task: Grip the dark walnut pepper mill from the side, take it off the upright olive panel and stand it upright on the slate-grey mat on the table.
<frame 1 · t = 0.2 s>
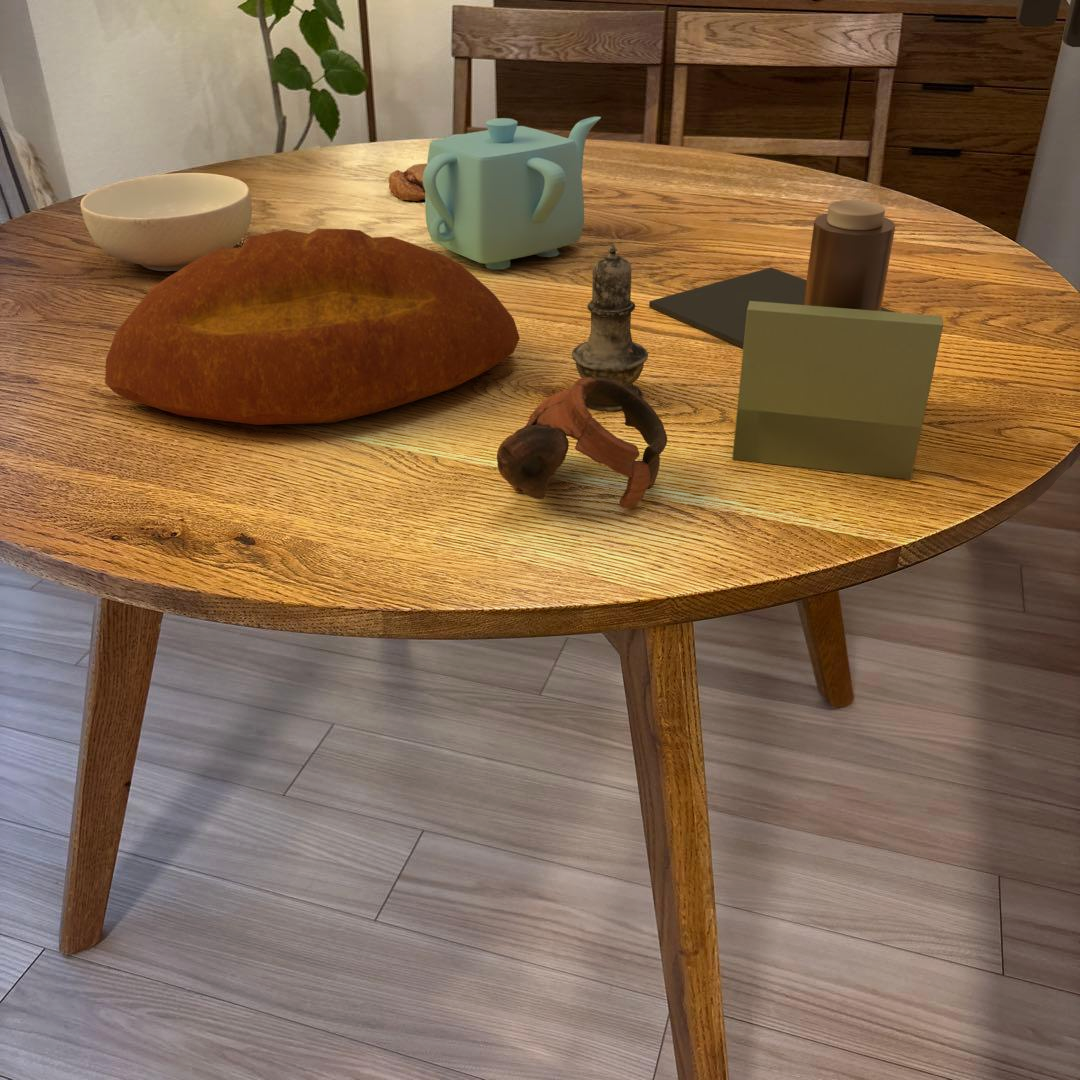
hand: (1057, 35, 61), 26 cm above the table, tool pointing down, fingers open, 8 cm apart
pepper mill: (831, 375, 75), point 4 cm above the table, touching upright olive panel
slate mat: (771, 313, 96), on the table
bread: (323, 384, 85), on the table
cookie: (430, 193, 133), on the table
teapot: (518, 250, 113), on the table
upright olive panel: (823, 430, 76), on the table
brown leather headphones: (571, 492, 70), on the table
salt shaker: (608, 398, 82), on the table
cereal bowl: (179, 261, 111), on the table
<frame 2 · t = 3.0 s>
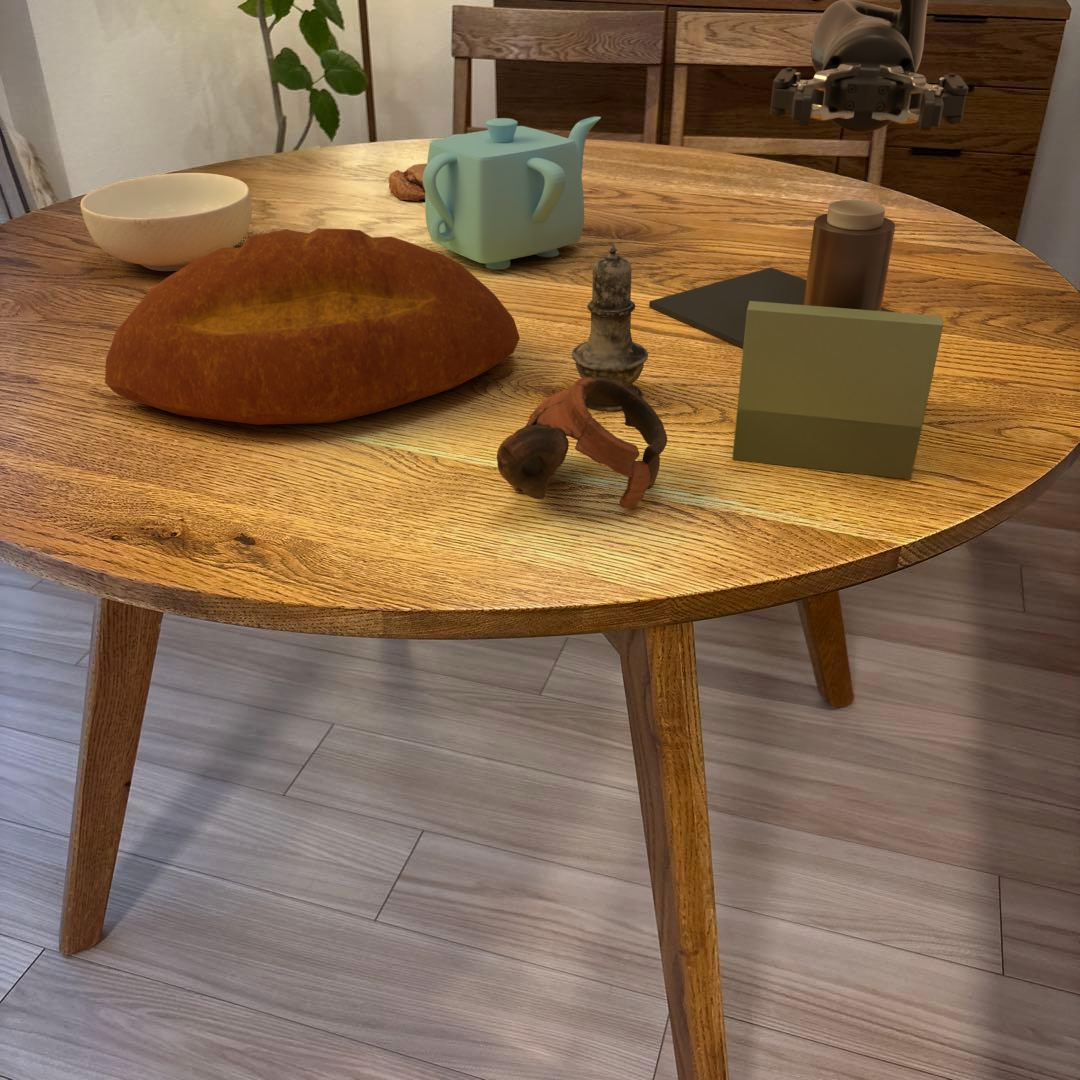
hand: (866, 114, 75), 20 cm above the table, tool horizontal, fingers open, 8 cm apart
nothing on the table moved.
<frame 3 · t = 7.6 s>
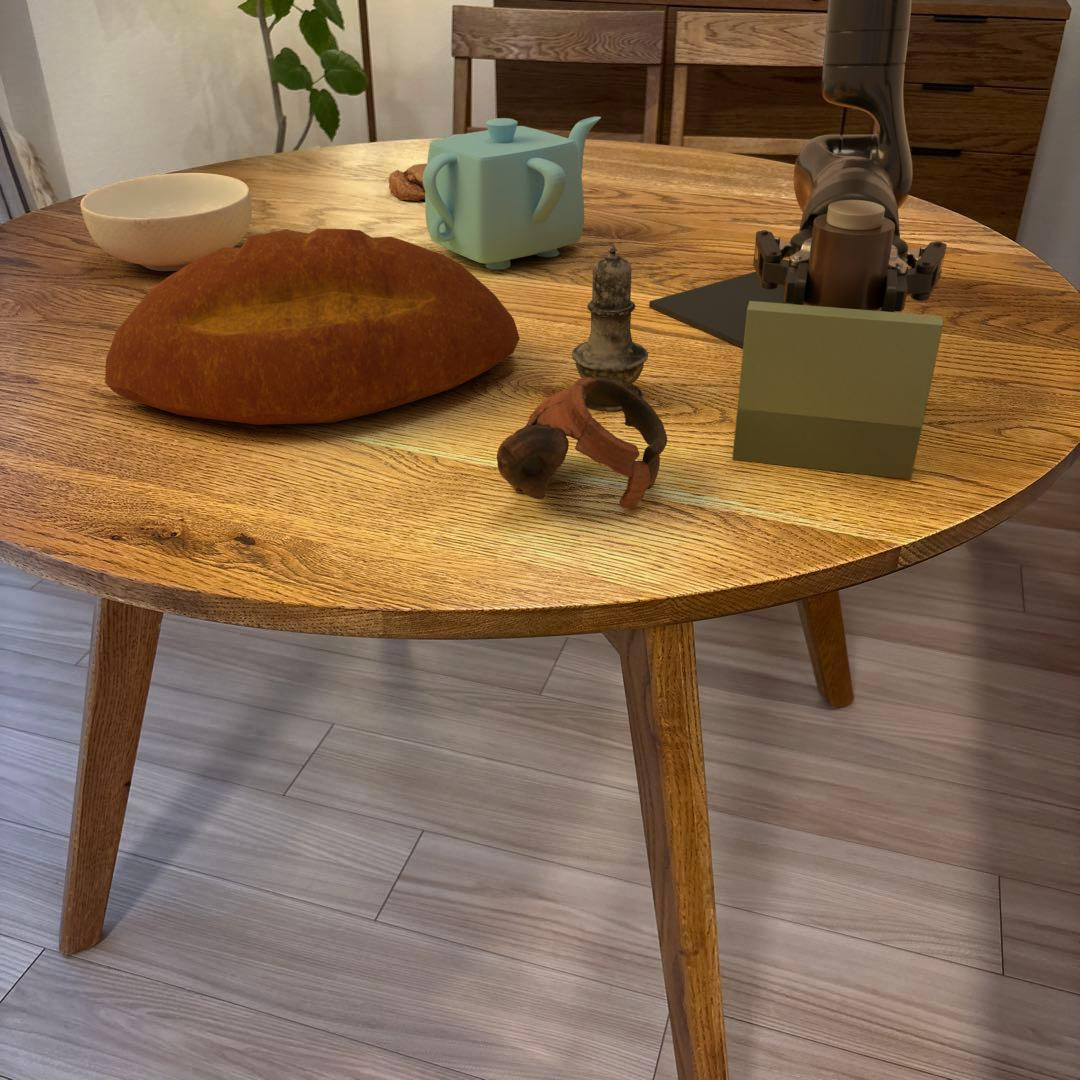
hand: (844, 299, 69), 11 cm above the table, tool horizontal, fingers closed on pepper mill, 5 cm apart
pepper mill: (831, 375, 75), point 4 cm above the table, touching gripper, upright olive panel
everything else where it was.
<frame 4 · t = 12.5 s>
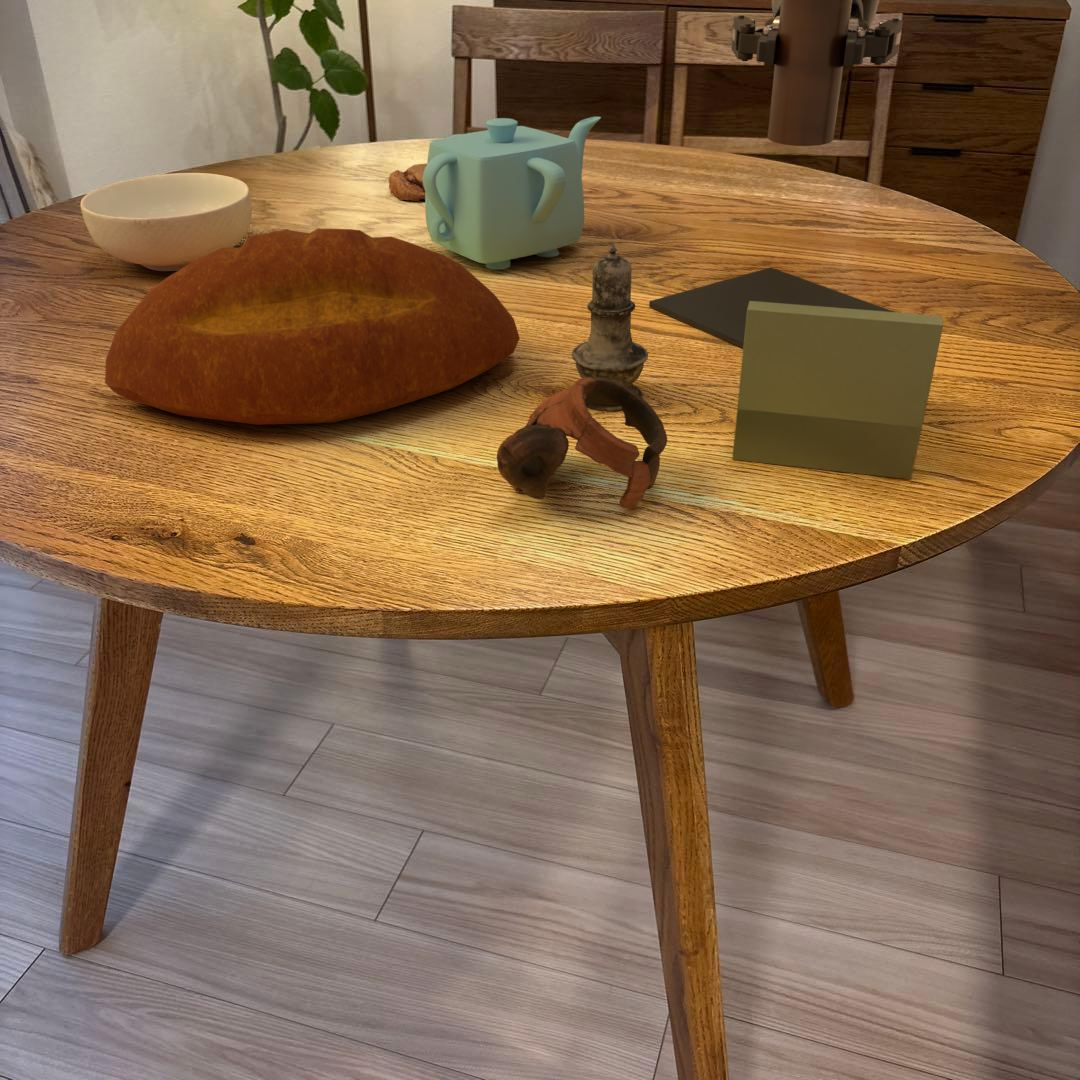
hand: (809, 54, 78), 23 cm above the table, tool horizontal, fingers closed on pepper mill, 5 cm apart
pepper mill: (800, 138, 84), point 16 cm above the table, touching gripper
everything else where it was.
when the fingers open (7 cm above the table, at t = 17.6 s): pepper mill stays where it is, resting on slate mat.
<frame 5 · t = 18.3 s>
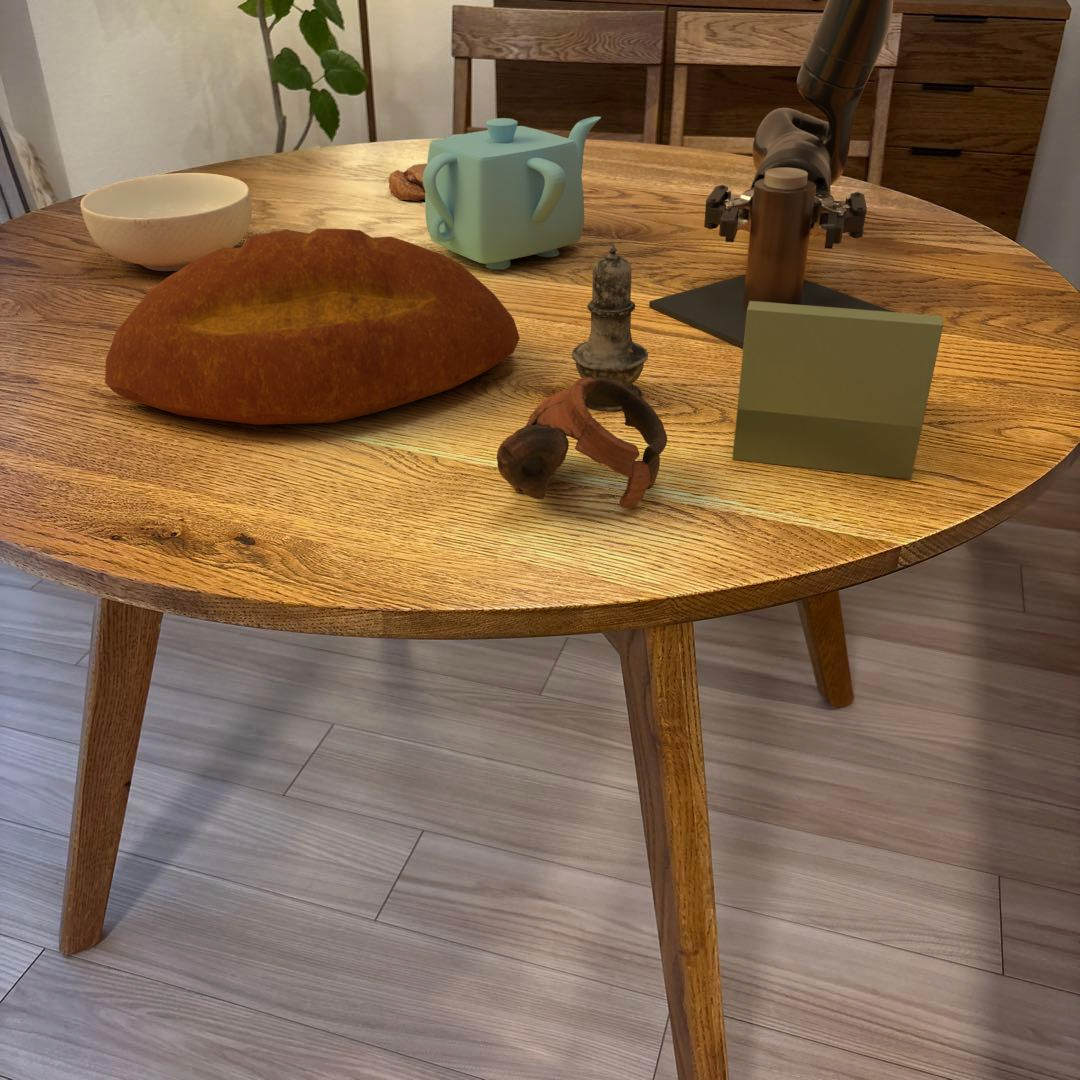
hand: (779, 234, 90), 8 cm above the table, tool horizontal, fingers open, 8 cm apart
pepper mill: (771, 306, 96), point 1 cm above the table, touching slate mat
everything else where it was.
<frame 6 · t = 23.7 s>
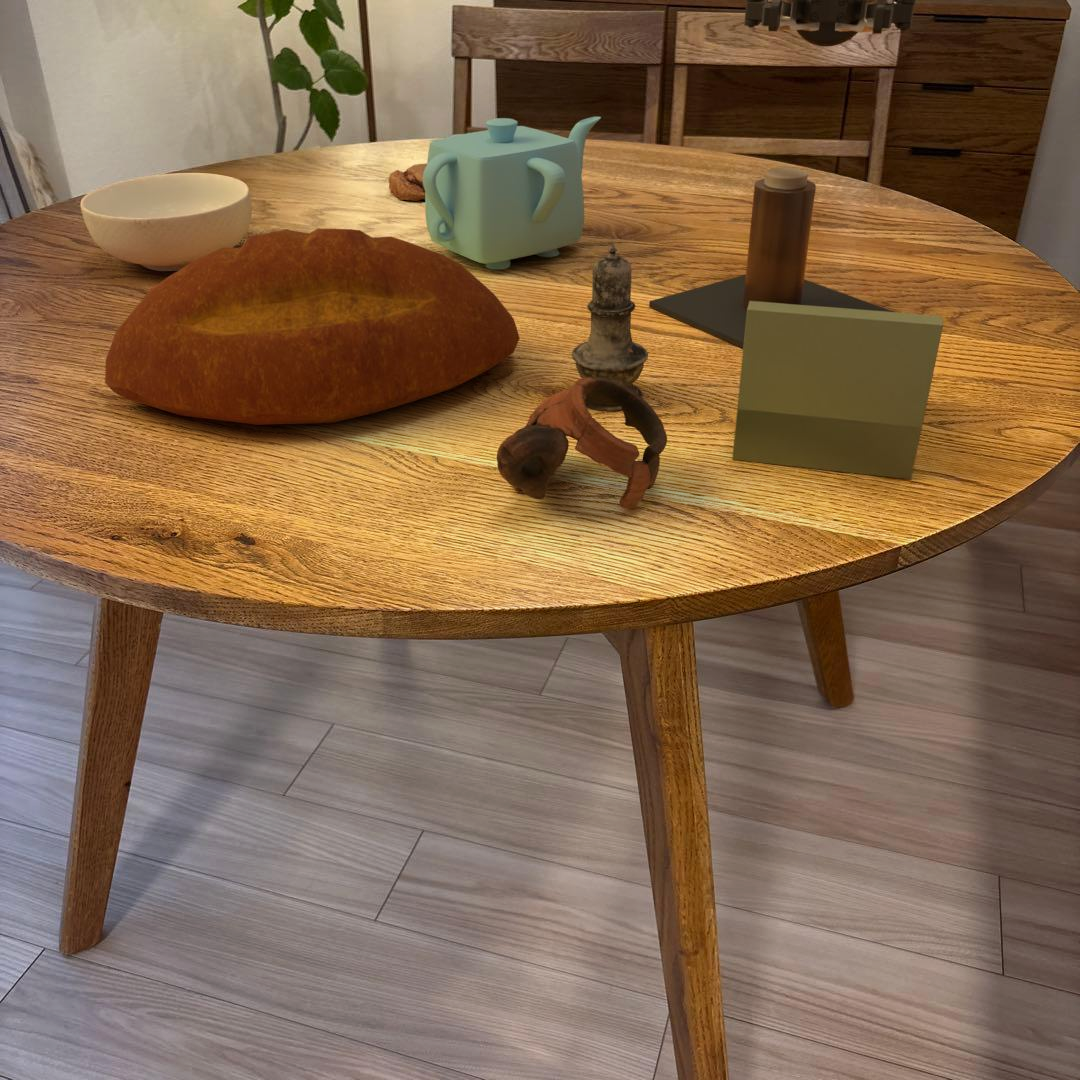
hand: (826, 18, 86), 24 cm above the table, tool horizontal, fingers open, 8 cm apart
nothing on the table moved.
at the end: pepper mill inside the target area on the slate mat (0.1 cm from its centre), point 0.6 cm above the slate mat's base; pepper mill tilted 0°; the gripper is holding nothing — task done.
